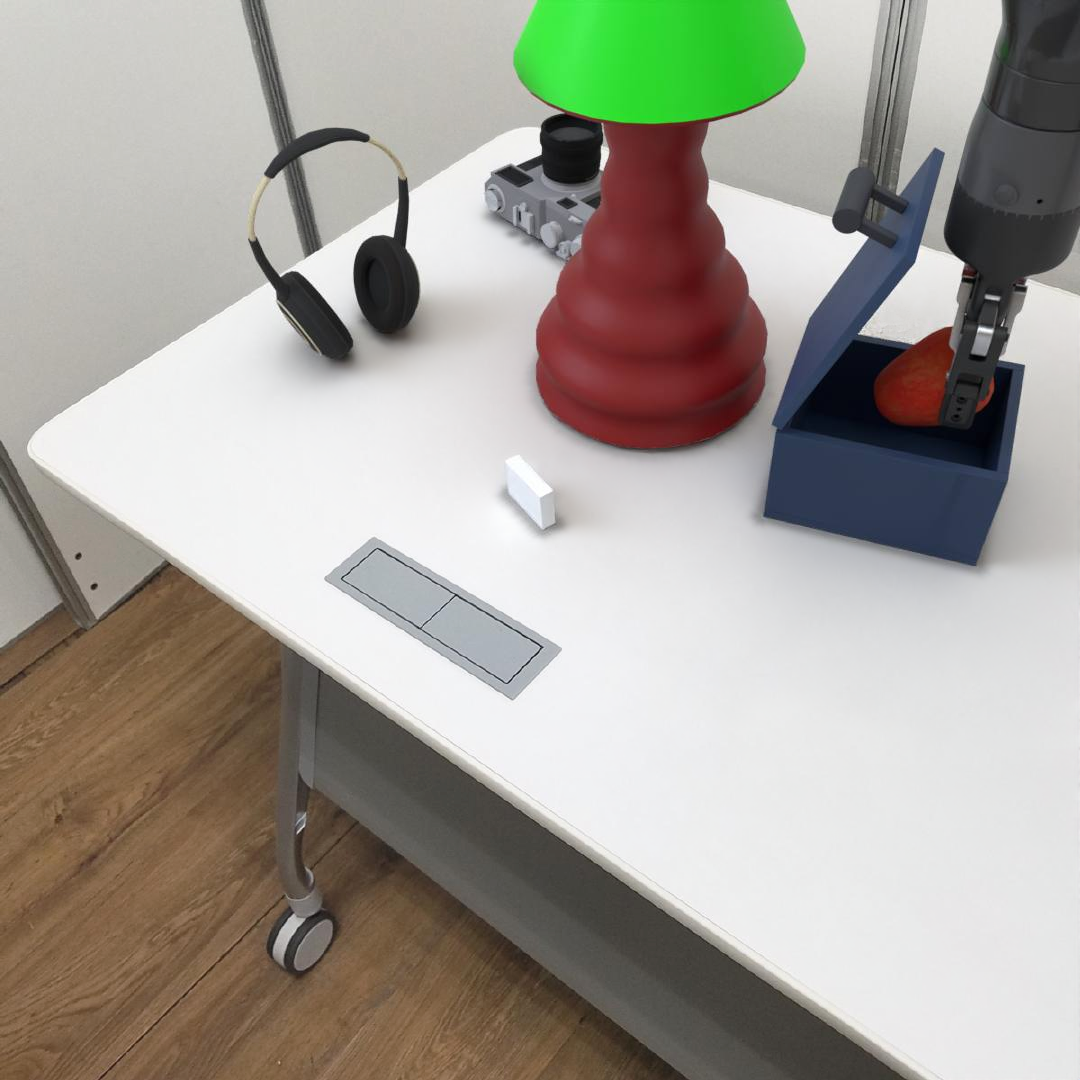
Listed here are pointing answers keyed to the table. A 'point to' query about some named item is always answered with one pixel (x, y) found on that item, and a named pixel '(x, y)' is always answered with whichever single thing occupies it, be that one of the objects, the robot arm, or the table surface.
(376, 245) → the headphones
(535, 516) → the eraser
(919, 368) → the apple
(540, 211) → the camera
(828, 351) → the lid
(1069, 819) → the table surface
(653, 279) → the table lamp
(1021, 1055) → the table surface
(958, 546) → the box
